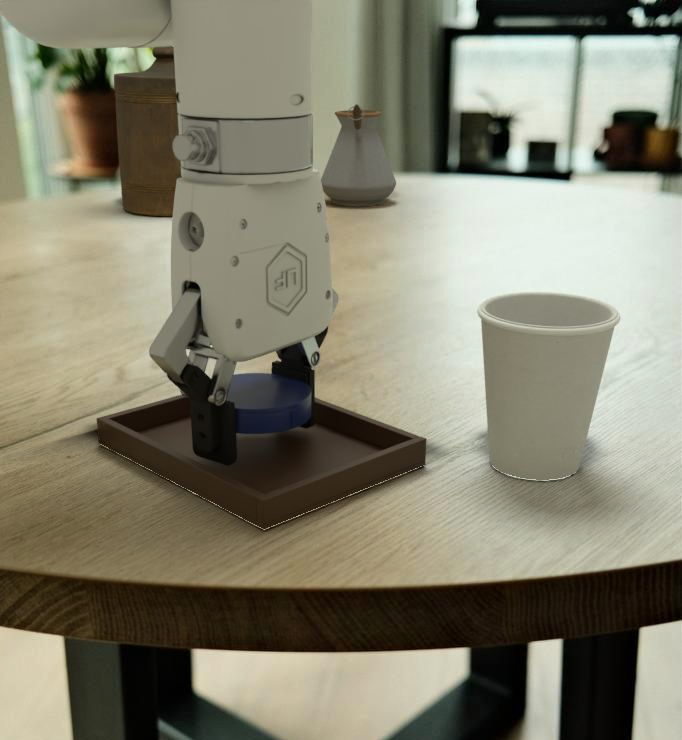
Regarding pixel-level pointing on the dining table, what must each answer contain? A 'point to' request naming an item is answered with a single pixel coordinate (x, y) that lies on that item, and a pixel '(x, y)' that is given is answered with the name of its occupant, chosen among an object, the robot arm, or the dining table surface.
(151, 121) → the wooden container
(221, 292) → the robot arm
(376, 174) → the coffee pot
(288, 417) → the lid
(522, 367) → the dixie cup
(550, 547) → the dining table surface
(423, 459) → the tray
